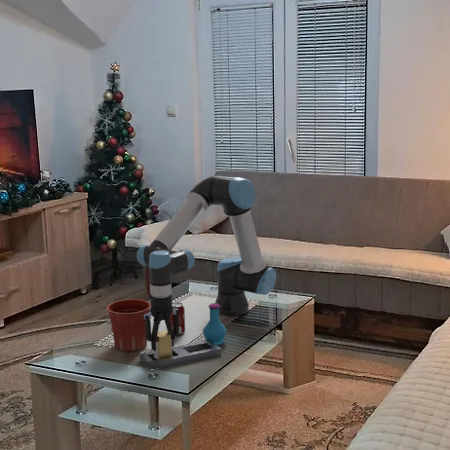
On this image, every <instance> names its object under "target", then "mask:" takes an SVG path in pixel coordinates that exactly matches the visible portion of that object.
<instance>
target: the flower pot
mask: <svg viewBox="0 0 450 450" xmlns="http://www.w3.org/2000/svg"><path fill="white" fill-rule="evenodd" d="M106 309H107V311H108V317H109V319H110V322H111V323H110V324H111V331H112V335H113V336H112V337H113V343H114V348H115V349H116V350H118V351H121V352H125V353H126V352H127V353H130V352H136V351H137V350H140V351H141V350H143V349H144V348H146V347H147V345H148V340H146V332H145V319H144V317H143V314H147V313H149V312H150V309H151V302H149V301H147V300H144V299H137V298H129V299H121V300H115V301H113V302H111V303H109V304H108V305H107V306H106Z"/></svg>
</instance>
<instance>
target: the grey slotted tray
mask: <svg viewBox="0 0 450 450" xmlns="http://www.w3.org/2000/svg"><path fill="white" fill-rule="evenodd" d="M172 355H173V356H172V357H169V358H164V359H159V360H154V359H155V358H154V351H153V350H152V351H149V352H145V353H144V352H143V353H140V354H139V360H140V361H139V362H140V363H142V364H143V365H144V366H145V365H146V366H147V367H148V368H149V369H150V370H151V369H155V370H157V369H156V368H160V369H163V368H164V367H165V368H168V367H169V368H170V367H173V366H178V365H182V364H186V363H191V362H195V361H197V362H198V361H200V360H205V359H209V358H213V357H214V358H215V357H219V356H222V348H221V347H220V346H218V345H215V344H214V343H213V342H211V341H210V340H206V339H205V340H202V341H201V340H200V341H197V342H192V343H189V344H183V345H182V344H181V345H179V346H174V347H172ZM146 366H145V367H146ZM147 367H146V368H147ZM148 368H147V369H148ZM165 368H164V369H165ZM149 369H148V370H149ZM150 370H149V371H150ZM151 371H152V370H151Z"/></svg>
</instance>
